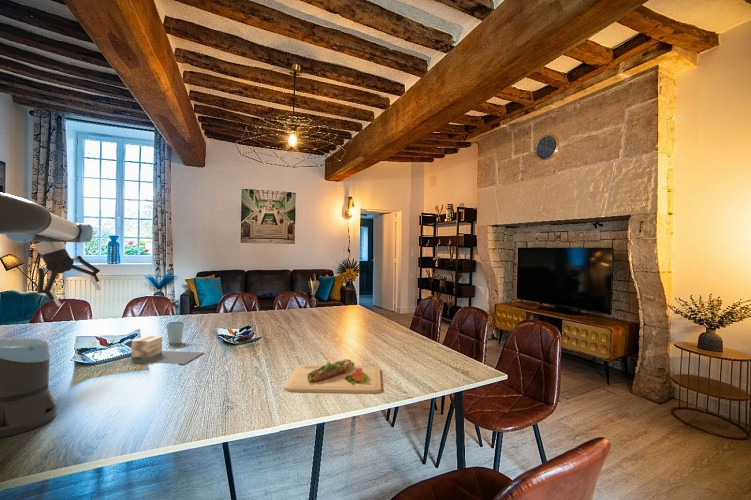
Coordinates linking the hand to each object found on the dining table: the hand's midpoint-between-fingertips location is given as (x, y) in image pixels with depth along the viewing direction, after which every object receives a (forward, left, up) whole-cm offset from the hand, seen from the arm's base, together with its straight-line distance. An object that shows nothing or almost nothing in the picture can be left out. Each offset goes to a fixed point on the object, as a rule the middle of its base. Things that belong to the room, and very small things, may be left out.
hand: (80, 297), depth 134 cm
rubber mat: (-23, -22, -28) cm, 42 cm away
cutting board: (-102, -41, -29) cm, 114 cm away
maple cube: (-16, -18, -28) cm, 37 cm away
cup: (-5, -37, -28) cm, 47 cm away
